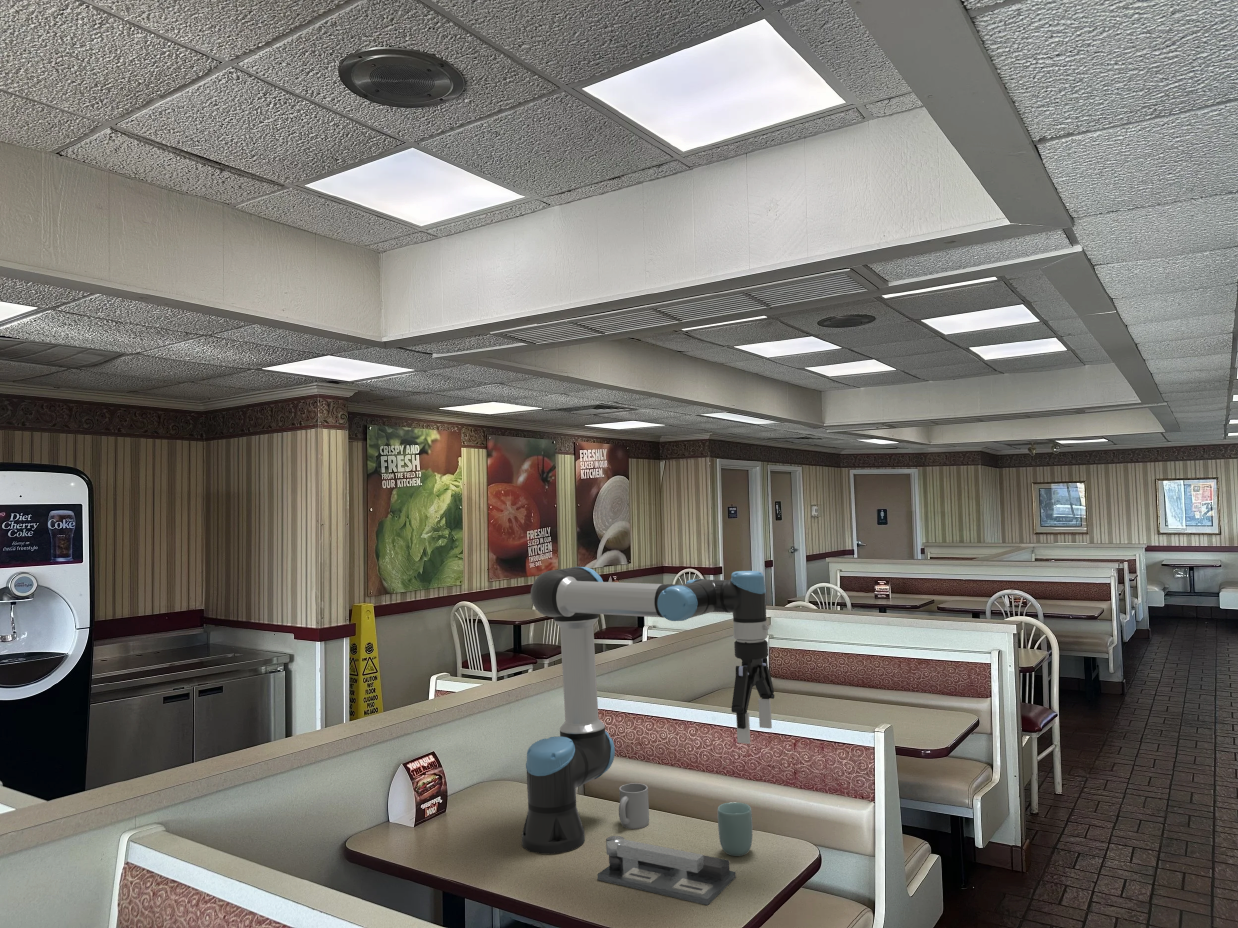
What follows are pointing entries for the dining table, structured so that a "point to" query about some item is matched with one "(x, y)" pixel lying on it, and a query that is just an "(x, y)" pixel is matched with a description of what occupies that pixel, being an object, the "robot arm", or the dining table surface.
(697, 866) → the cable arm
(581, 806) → the dining table surface
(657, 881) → the panel
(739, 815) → the cup
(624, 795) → the cup
